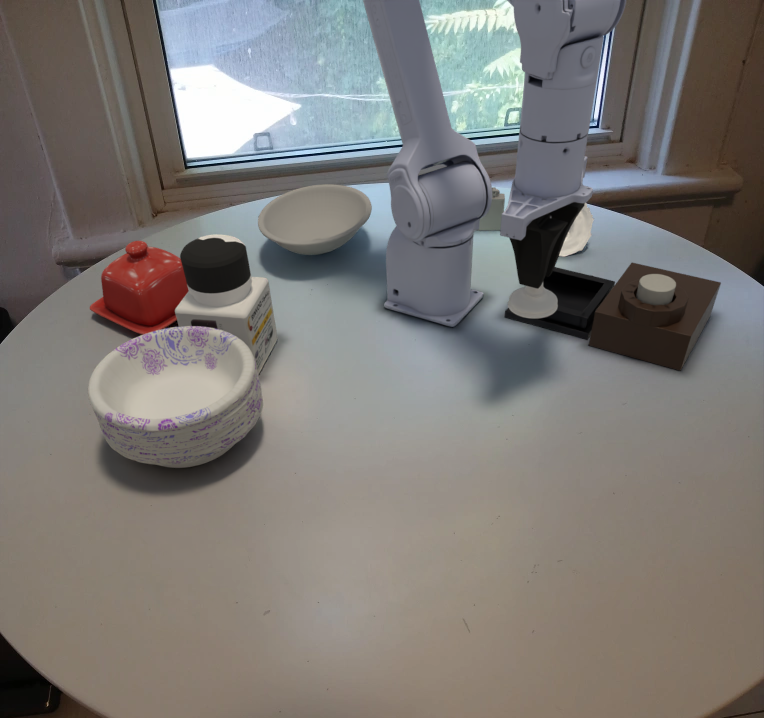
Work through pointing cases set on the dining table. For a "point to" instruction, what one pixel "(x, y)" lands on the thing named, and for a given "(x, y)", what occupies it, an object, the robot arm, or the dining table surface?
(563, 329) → the pan
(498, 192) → the lighter
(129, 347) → the paper bowls
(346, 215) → the dish
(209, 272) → the container
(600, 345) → the brown push button box
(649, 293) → the button
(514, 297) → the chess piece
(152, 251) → the butter dish
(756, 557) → the dining table surface
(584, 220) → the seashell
